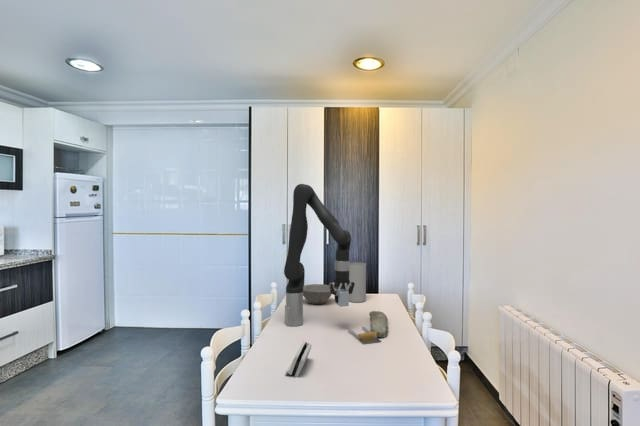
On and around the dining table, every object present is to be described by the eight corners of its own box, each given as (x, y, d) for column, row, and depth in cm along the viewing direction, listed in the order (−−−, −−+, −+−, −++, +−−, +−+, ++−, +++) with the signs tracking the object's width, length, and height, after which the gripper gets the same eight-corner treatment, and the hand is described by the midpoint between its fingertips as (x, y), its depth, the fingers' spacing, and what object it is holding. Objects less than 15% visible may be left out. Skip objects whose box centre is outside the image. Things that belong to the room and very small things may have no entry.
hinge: (295, 357, 143) (303, 335, 142) (305, 361, 142) (313, 339, 141) (284, 376, 126) (293, 351, 125) (296, 381, 125) (305, 356, 125)
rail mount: (363, 344, 156) (363, 338, 156) (347, 331, 173) (347, 325, 173) (380, 342, 159) (381, 335, 159) (363, 329, 176) (363, 323, 176)
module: (340, 306, 172) (340, 292, 172) (334, 302, 179) (334, 289, 179) (348, 306, 173) (348, 292, 173) (342, 301, 181) (342, 288, 181)
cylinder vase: (368, 299, 235) (368, 263, 235) (360, 303, 224) (361, 265, 224) (352, 297, 241) (352, 261, 241) (344, 301, 231) (344, 264, 231)
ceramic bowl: (296, 299, 234) (296, 285, 234) (328, 297, 241) (328, 283, 241) (304, 308, 213) (304, 292, 213) (339, 305, 220) (339, 290, 220)
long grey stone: (368, 340, 164) (389, 342, 163) (368, 329, 164) (390, 331, 163) (368, 314, 199) (386, 316, 197) (369, 305, 199) (387, 307, 197)
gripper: (331, 271, 170) (331, 305, 171) (357, 270, 175) (357, 303, 175) (326, 268, 177) (325, 301, 178) (351, 267, 182) (351, 299, 182)
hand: (341, 302), depth 176 cm, fingers closed on module, 4 cm apart
